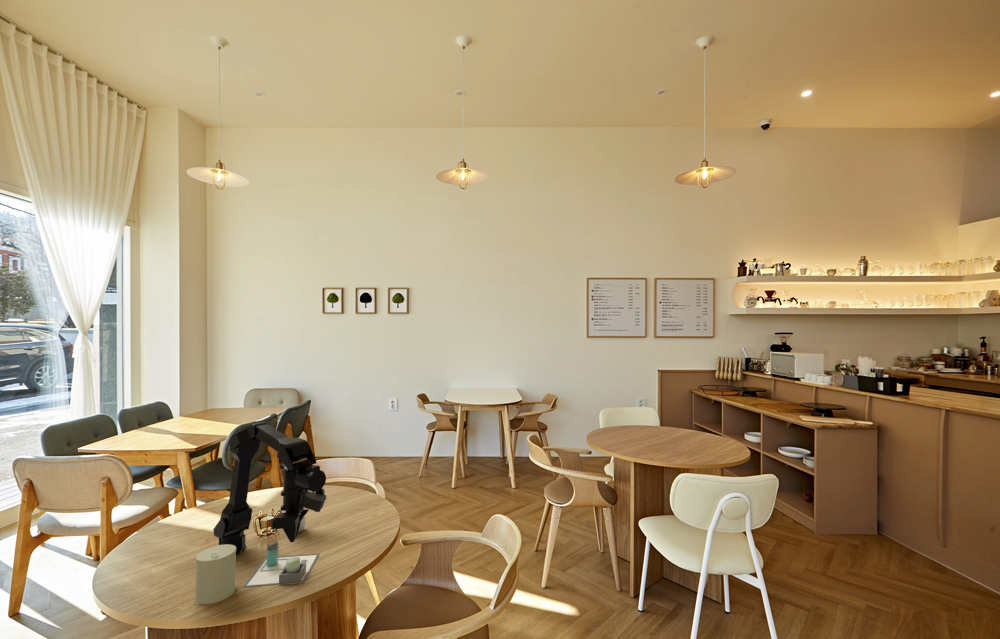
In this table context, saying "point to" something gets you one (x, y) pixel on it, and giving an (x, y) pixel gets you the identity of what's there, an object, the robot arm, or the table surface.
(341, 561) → the table surface
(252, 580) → the activity board
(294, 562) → the key
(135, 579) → the table surface
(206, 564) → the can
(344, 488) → the table surface
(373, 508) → the table surface
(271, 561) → the teal cylinder
